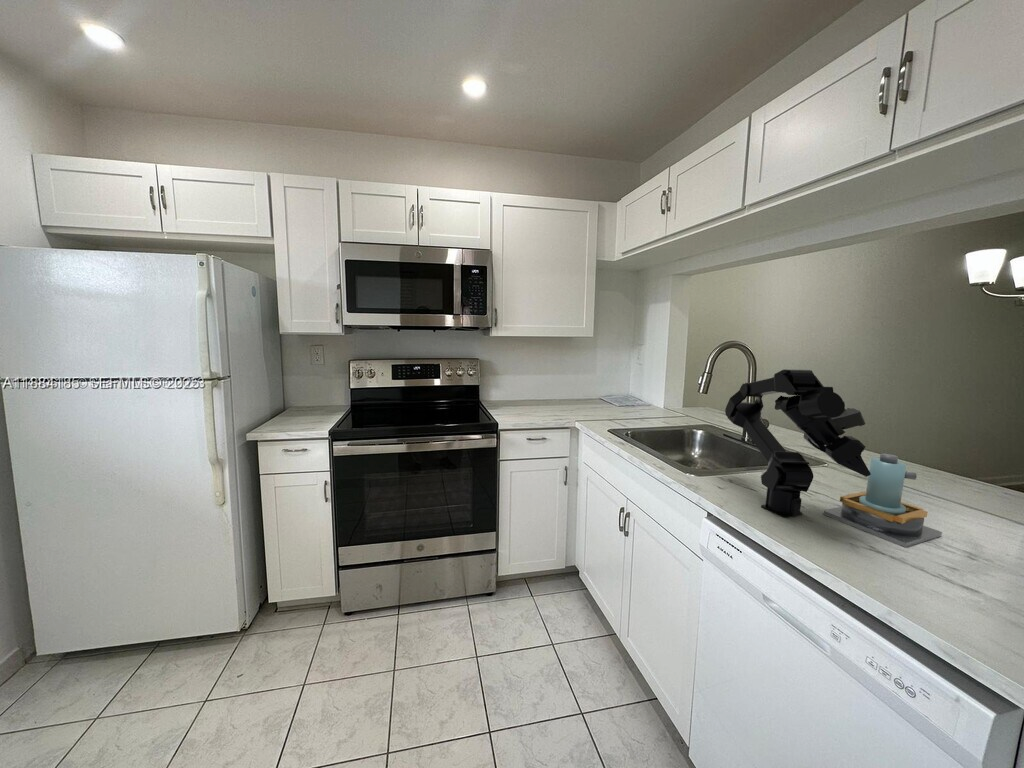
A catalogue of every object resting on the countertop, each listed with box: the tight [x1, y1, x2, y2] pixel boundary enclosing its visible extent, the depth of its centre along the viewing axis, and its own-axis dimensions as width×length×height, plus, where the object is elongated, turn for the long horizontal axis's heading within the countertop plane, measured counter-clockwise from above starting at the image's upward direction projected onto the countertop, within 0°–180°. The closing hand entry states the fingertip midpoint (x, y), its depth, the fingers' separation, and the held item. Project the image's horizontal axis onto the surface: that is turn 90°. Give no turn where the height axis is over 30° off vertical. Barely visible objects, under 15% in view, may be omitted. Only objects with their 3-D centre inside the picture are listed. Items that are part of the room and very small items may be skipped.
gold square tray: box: [822, 491, 943, 548], centre depth 93 cm, size 16×14×5 cm
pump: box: [859, 453, 917, 516], centre depth 91 cm, size 9×8×13 cm
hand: (858, 468), depth 92 cm, fingers open, 9 cm apart
